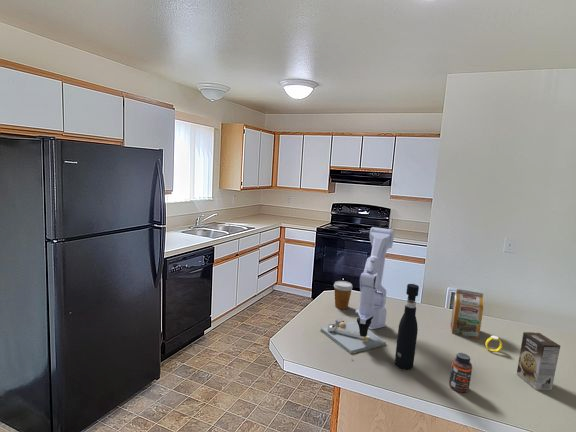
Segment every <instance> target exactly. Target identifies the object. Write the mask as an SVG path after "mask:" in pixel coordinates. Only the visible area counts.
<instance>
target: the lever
mask: <svg viewBox="0 0 576 432" xmlns="http://www.w3.org/2000/svg"><path fill="white" fill-rule="evenodd" d="M327 327H328V329H327V330H328V331H329V332H336V333H340V334H344V335H348V336H352V337H356V338H360V339H364V340H365V339H366V337H363V336H360V332H356V331H352V330H348V329H344V328H340V327H337V325H335V324H333V323H330V324H328V325H327ZM368 331H369V329H368V330H367V333H368ZM366 336H367V334H366Z"/></svg>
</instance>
